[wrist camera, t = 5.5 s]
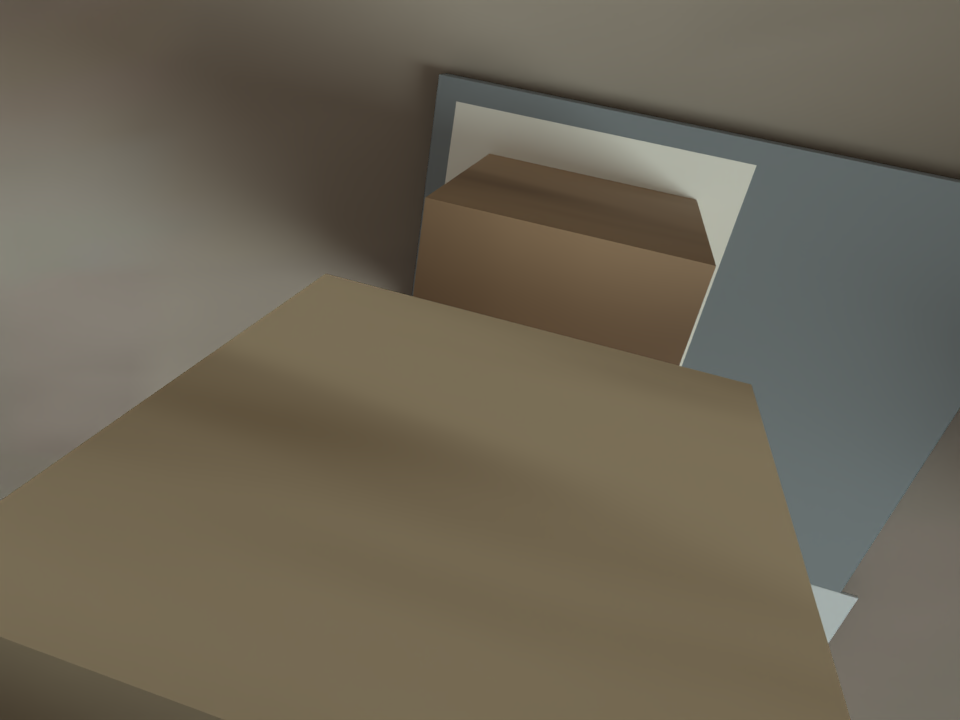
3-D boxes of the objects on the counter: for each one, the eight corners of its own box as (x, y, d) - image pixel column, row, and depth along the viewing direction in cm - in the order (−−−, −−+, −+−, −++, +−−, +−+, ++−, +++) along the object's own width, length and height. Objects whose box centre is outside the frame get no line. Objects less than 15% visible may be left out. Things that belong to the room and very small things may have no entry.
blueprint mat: (763, 719, 22) (766, 736, 22) (378, 594, 24) (372, 607, 24) (1096, 208, 13) (1114, 214, 13) (446, 73, 15) (439, 74, 15)
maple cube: (624, 672, 9) (599, 1234, 5) (309, 569, 10) (40, 982, 6) (751, 384, 7) (929, 982, 2) (325, 274, 7) (-126, 590, 3)
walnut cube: (635, 381, 17) (629, 498, 13) (458, 335, 18) (395, 430, 13) (696, 199, 15) (716, 265, 10) (489, 153, 15) (425, 197, 11)
